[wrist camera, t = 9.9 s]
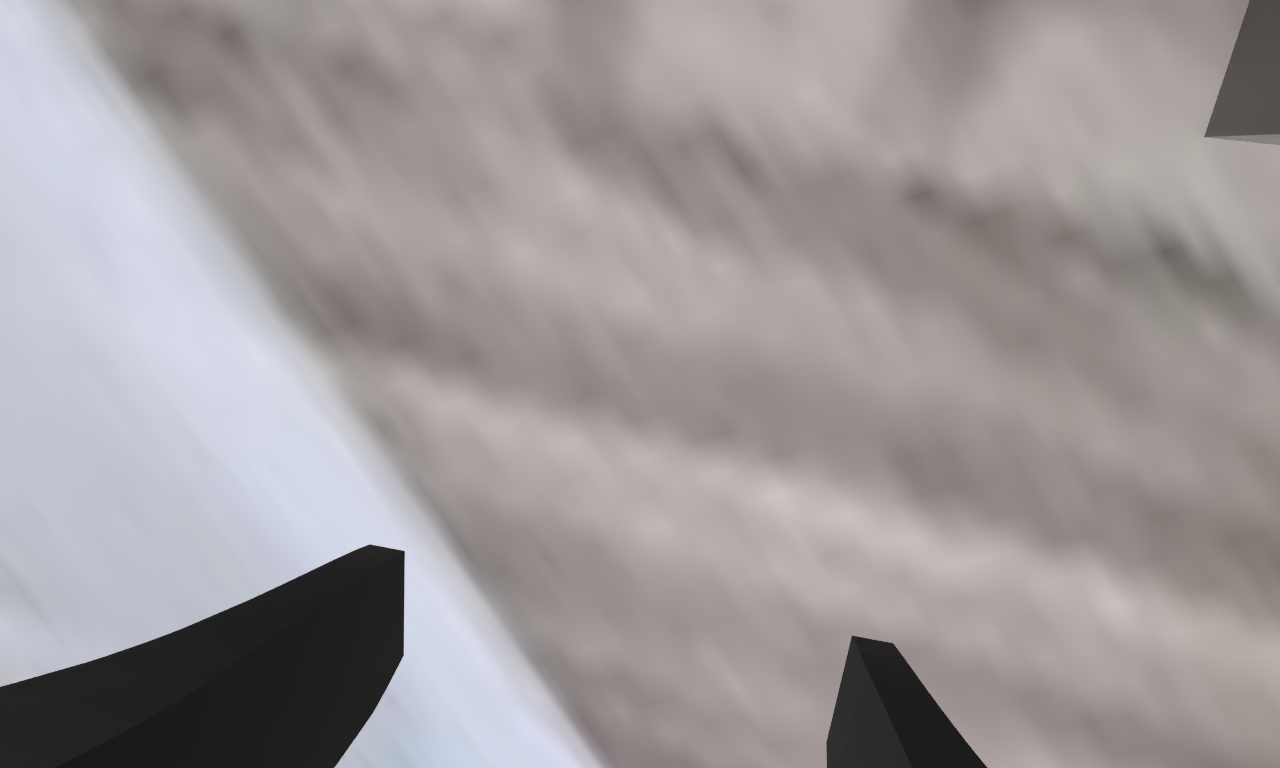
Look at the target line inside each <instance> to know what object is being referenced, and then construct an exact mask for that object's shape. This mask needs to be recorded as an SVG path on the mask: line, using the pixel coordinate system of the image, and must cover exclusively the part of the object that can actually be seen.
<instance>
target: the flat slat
mask: <svg viewBox="0 0 1280 768" xmlns="http://www.w3.org/2000/svg"><path fill="white" fill-rule="evenodd" d="M1205 137H1209V138H1219V139H1228V140H1238V141H1247V142H1257V143H1266V144H1276V145H1280V0H1250V2H1249V5H1248V8H1247V11H1246V14H1245V17H1244V20H1243V23H1242V26H1241V29H1240V32H1239V35H1238V38H1237V41H1236V44H1235V47H1234V50H1233V53H1232V56H1231V59H1230V62H1229V65H1228V68H1227V71H1226V74H1225V77H1224V80H1223V83H1222V86H1221V89H1220V92H1219V95H1218V98H1217V101H1216V104H1215V107H1214V110H1213V113H1212V116H1211V119H1210V122H1209V125H1208V128H1207V131H1206V134H1205Z"/></svg>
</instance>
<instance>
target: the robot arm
mask: <svg viewBox="0 0 1280 768" xmlns="http://www.w3.org/2000/svg"><path fill="white" fill-rule="evenodd" d="M404 558H405V551H401V550H396V549H390V548H385V547H380V546H374V545H367V546H365V547H362V548H360V549H357V550H355V551H353V552H350V553H348V554H346V555H344V556H342V557H339V558H337V559H335V560H333V561H331V562H329V563H327V564H325V565H323V566H320V567H318V568H316V569H314V570H312V571H310V572H308V573H306V574H304V575H302V576H300V577H297V578H295V579H293V580H291V581H289V582H287V583H285V584H283V585H280V586H278V587H276V588H274V589H272V590H270V591H268V592H266V593H264V594H261V595H259V596H257V597H255V598H253V599H251V600H248V601H246V602H244V603H241V604H239V605H237V606H234V607H232V608H230V609H227V610H225V611H223V612H220V613H218V614H216V615H213V616H211V617H209V618H206V619H204V620H202V621H199V622H197V623H195V624H192V625H190V626H188V627H185V628H183V629H180V630H178V631H175V632H173V633H170V634H167V635H165V636H162V637H159V638H157V639H154V640H151V641H149V642H146V643H143V644H140V645H137V646H134V647H132V648H129V649H126V650H123V651H120V652H117V653H114V654H111V655H108V656H105V657H102V658H99V659H96V660H93V661H90V662H87V663H83V664H80V665H76V666H73V667H69V668H66V669H62V670H59V671H55V672H52V673H48V674H45V675H41V676H38V677H34V678H31V679H27V680H24V681H20V682H17V683H13V684H10V685H6V686H2V687H0V768H334V767H335V766H336V765H337V763H338V762H339V760H340V759H341V758H342V756H343V755H344V753H345V752H346V750H347V749H348V748H349V746H350V745H351V743H352V742H353V740H354V739H355V738H356V736H357V735H358V733H359V732H360V731H361V729H362V728H363V726H364V725H365V723H366V722H367V720H368V719H369V718H370V716H371V715H372V713H373V712H374V710H375V708H376V706H377V705H378V703H379V701H380V699H381V697H382V696H383V694H384V692H385V690H386V688H387V686H388V685H389V683H390V681H391V679H392V677H393V675H394V673H395V671H396V669H397V667H398V665H399V663H400V661H401V659H402V657H403V655H404ZM827 768H987V767H986V766H985V764H984V763H983V762H982V761H981V760H980V758H979V757H978V756H977V755H976V753H975V752H974V751H973V750H972V748H971V747H970V746H969V745H968V743H967V742H966V741H965V740H964V738H963V737H962V736H961V734H960V733H959V732H958V731H957V729H956V728H955V727H954V726H953V724H952V723H951V722H950V720H949V719H948V718H947V716H946V715H945V714H944V712H943V711H942V710H941V708H940V707H939V706H938V704H937V703H936V702H935V700H934V699H933V697H932V696H931V695H930V693H929V692H928V691H927V689H926V688H925V687H924V685H923V684H922V682H921V681H920V680H919V678H918V677H917V675H916V674H915V673H914V671H913V670H912V669H911V667H910V666H909V664H908V663H907V662H906V660H905V659H904V657H903V656H902V655H901V653H900V652H899V651H898V649H897V648H896V647H895V645H894V644H893V643H888V642H883V641H877V640H872V639H867V638H861V637H856V636H852V638H851V642H850V647H849V651H848V655H847V659H846V663H845V668H844V672H843V676H842V680H841V684H840V688H839V693H838V697H837V701H836V705H835V709H834V714H833V718H832V722H831V726H830V730H829V735H828V739H827Z"/></svg>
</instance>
